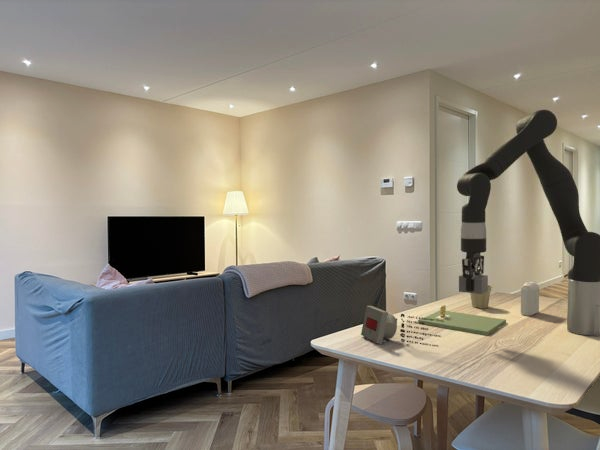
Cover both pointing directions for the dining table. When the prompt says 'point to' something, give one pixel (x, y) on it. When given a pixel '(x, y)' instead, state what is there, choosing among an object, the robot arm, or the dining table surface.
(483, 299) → the flower pot
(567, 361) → the dining table surface
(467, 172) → the robot arm
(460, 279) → the block
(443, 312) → the header pins
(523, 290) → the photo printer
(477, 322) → the board
